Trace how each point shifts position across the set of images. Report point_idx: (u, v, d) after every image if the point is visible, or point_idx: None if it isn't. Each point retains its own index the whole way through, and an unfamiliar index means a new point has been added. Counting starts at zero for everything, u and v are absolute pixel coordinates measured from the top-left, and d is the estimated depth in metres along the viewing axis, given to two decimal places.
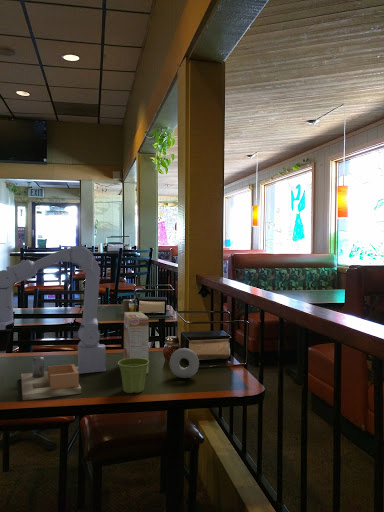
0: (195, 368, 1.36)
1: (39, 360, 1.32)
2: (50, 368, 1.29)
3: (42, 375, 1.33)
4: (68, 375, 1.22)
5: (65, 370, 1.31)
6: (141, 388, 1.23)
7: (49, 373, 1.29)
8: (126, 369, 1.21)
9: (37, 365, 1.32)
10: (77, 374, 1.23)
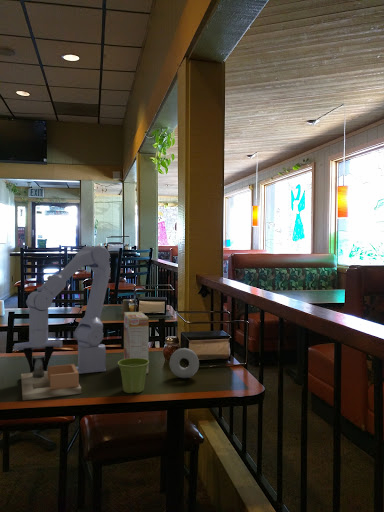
0: (195, 368, 1.36)
1: (39, 360, 1.32)
2: (50, 368, 1.29)
3: (42, 375, 1.33)
4: (68, 375, 1.22)
5: (65, 370, 1.31)
6: (141, 388, 1.23)
7: (49, 373, 1.29)
8: (126, 369, 1.21)
9: (37, 365, 1.32)
10: (77, 374, 1.23)
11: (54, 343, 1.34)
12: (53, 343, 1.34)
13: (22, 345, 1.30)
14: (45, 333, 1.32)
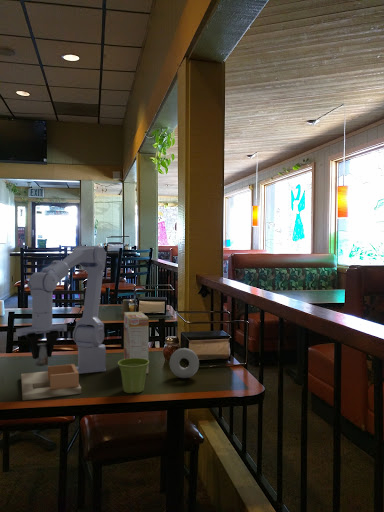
0: (195, 368, 1.36)
1: (44, 347, 1.23)
2: (50, 368, 1.29)
3: (47, 363, 1.24)
4: (68, 375, 1.22)
5: (65, 370, 1.31)
6: (141, 388, 1.23)
7: (49, 373, 1.29)
8: (126, 369, 1.21)
9: (42, 352, 1.23)
10: (77, 374, 1.23)
11: (59, 327, 1.26)
12: (58, 327, 1.26)
13: (27, 330, 1.20)
14: (51, 316, 1.24)
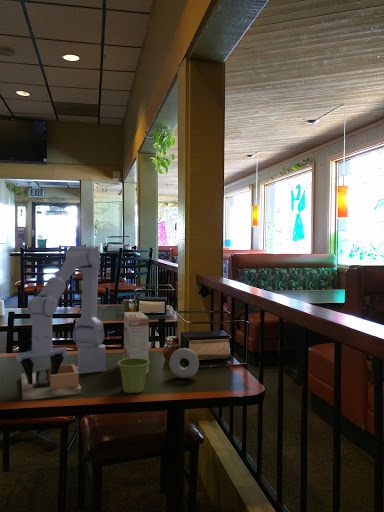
0: (195, 368, 1.36)
1: (44, 372, 1.23)
2: (50, 368, 1.29)
3: None
4: (68, 375, 1.22)
5: (65, 370, 1.31)
6: (141, 388, 1.23)
7: (49, 373, 1.29)
8: (126, 369, 1.21)
9: (43, 377, 1.23)
10: (77, 374, 1.23)
11: (59, 350, 1.26)
12: (58, 350, 1.26)
13: (27, 355, 1.20)
14: (51, 340, 1.24)
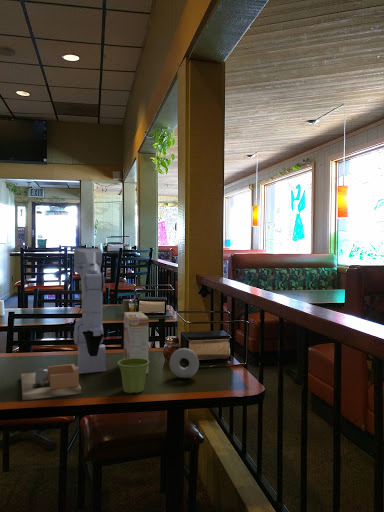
0: (195, 368, 1.36)
1: (44, 372, 1.23)
2: (50, 368, 1.29)
3: None
4: (68, 375, 1.22)
5: (65, 370, 1.31)
6: (141, 388, 1.23)
7: (49, 373, 1.29)
8: (126, 369, 1.21)
9: (42, 377, 1.23)
10: (77, 374, 1.23)
11: None
12: None
13: (100, 328, 1.26)
14: None
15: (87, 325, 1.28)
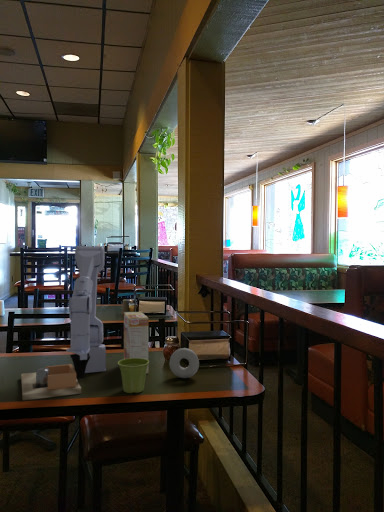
0: (195, 368, 1.36)
1: (44, 372, 1.23)
2: (48, 368, 1.29)
3: None
4: (65, 375, 1.22)
5: (63, 370, 1.31)
6: (141, 388, 1.23)
7: None
8: (126, 369, 1.21)
9: (42, 377, 1.23)
10: (75, 374, 1.23)
11: None
12: None
13: (87, 352, 1.25)
14: None
15: (74, 348, 1.26)
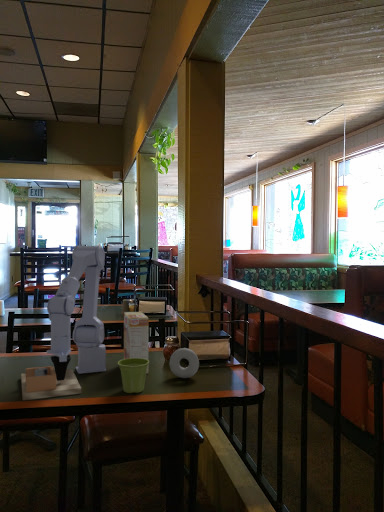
0: (195, 368, 1.36)
1: (42, 372, 1.23)
2: (28, 370, 1.27)
3: None
4: (45, 377, 1.19)
5: None
6: (141, 388, 1.23)
7: (27, 375, 1.27)
8: (126, 369, 1.21)
9: None
10: (54, 376, 1.20)
11: None
12: None
13: (67, 353, 1.22)
14: None
15: (54, 350, 1.24)
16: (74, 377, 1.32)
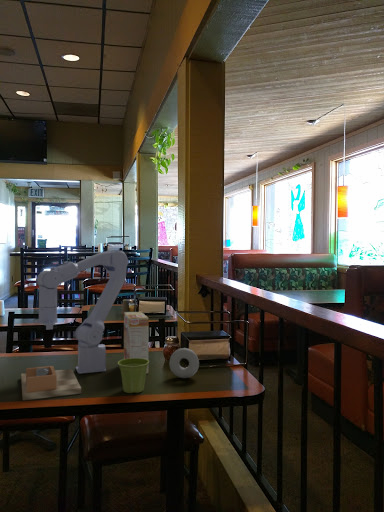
0: (195, 368, 1.36)
1: (43, 372, 1.23)
2: (28, 370, 1.27)
3: None
4: (45, 377, 1.20)
5: None
6: (141, 388, 1.23)
7: (27, 375, 1.27)
8: (126, 369, 1.21)
9: None
10: (55, 376, 1.21)
11: None
12: None
13: (53, 323, 1.33)
14: None
15: (41, 319, 1.35)
16: (74, 377, 1.32)
